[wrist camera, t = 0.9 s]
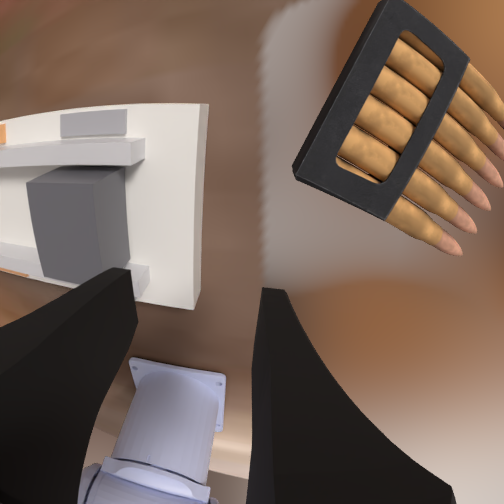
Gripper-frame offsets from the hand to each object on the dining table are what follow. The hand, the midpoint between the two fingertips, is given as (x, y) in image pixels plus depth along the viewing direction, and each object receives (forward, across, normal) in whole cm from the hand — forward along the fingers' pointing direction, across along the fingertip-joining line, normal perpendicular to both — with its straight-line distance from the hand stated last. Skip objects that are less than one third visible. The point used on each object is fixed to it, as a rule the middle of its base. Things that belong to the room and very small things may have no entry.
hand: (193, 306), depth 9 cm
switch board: (+8, +10, 0) cm, 13 cm away
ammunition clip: (+7, -4, -8) cm, 11 cm away
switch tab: (+6, +7, 0) cm, 9 cm away
